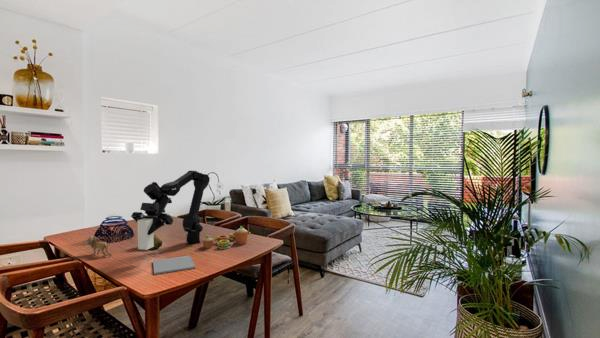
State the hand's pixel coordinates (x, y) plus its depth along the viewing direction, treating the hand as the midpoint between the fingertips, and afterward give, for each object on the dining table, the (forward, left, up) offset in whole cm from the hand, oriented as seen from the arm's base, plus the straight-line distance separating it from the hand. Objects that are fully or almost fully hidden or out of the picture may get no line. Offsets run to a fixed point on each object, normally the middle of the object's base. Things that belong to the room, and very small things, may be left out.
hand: (143, 234), depth 134 cm
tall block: (-1, -1, -7) cm, 7 cm away
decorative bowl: (+16, -55, -14) cm, 58 cm away
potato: (-3, -25, -14) cm, 28 cm away
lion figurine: (+20, -23, -14) cm, 33 cm away
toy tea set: (-40, -13, -14) cm, 45 cm away
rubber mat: (-12, +8, -13) cm, 19 cm away
